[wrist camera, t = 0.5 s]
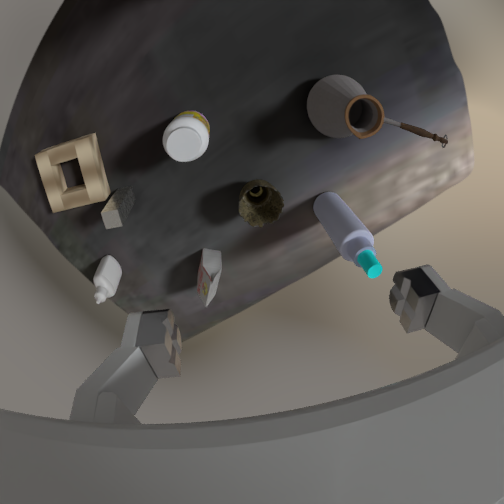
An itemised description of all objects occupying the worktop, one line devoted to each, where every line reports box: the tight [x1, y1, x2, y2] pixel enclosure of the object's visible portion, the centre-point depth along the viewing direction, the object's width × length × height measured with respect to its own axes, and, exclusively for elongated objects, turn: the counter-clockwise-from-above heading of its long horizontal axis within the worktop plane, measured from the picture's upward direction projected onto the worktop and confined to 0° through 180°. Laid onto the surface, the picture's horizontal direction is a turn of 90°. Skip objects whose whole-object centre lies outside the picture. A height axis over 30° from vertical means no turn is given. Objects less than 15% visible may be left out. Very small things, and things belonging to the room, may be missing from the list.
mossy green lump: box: [239, 180, 284, 227], centre depth 52 cm, size 8×7×8 cm
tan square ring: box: [35, 133, 111, 213], centre depth 47 cm, size 12×12×4 cm
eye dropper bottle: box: [93, 255, 122, 304], centre depth 56 cm, size 4×6×12 cm
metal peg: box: [101, 186, 135, 229], centre depth 49 cm, size 3×3×10 cm
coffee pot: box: [307, 75, 448, 148], centre depth 43 cm, size 21×12×15 cm, turn 83°
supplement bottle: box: [163, 111, 210, 162], centre depth 42 cm, size 7×7×13 cm
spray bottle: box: [313, 192, 382, 278], centre depth 50 cm, size 6×6×22 cm
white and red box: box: [197, 248, 222, 307], centre depth 59 cm, size 4×7×10 cm, turn 165°
